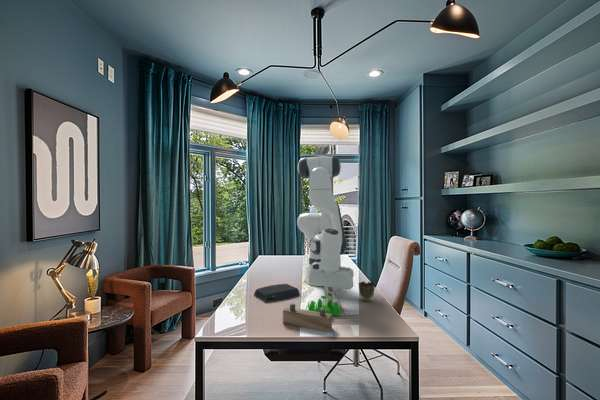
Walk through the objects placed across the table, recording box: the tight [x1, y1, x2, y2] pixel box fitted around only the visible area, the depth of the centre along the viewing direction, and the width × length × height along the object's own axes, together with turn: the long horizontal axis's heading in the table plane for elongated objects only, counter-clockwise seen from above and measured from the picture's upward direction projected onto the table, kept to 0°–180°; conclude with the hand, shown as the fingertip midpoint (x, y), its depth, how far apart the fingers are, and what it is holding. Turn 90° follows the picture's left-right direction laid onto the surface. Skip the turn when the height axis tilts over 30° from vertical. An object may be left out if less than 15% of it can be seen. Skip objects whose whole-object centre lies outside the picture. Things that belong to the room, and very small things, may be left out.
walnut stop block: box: [282, 303, 333, 333], centre depth 115 cm, size 4×18×7 cm, turn 66°
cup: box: [358, 281, 376, 302], centre depth 144 cm, size 8×7×8 cm
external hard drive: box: [253, 283, 301, 303], centre depth 151 cm, size 13×19×4 cm
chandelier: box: [305, 295, 342, 317], centre depth 129 cm, size 15×15×7 cm
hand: (330, 296), depth 140 cm, fingers closed
